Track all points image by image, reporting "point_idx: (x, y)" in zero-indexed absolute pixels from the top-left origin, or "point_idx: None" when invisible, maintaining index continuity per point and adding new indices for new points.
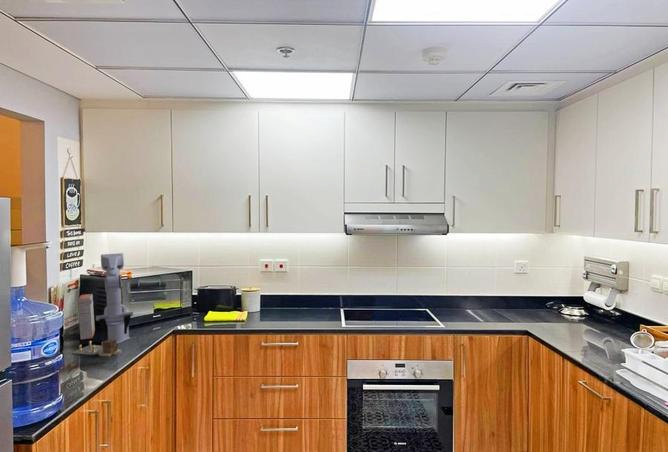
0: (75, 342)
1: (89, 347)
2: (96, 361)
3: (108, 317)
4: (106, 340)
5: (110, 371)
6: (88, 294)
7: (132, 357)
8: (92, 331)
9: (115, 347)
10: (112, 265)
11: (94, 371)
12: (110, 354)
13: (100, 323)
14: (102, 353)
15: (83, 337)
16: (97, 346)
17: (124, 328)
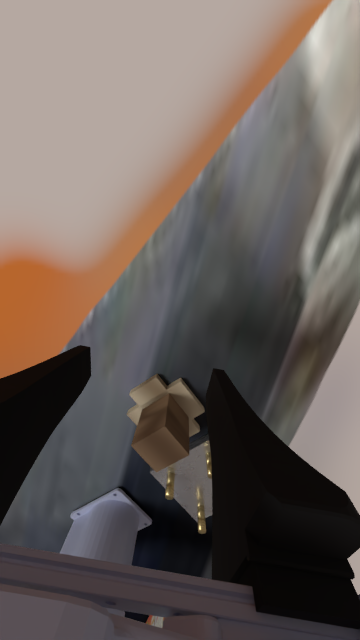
0: None
1: (206, 499)
2: (231, 352)
3: (206, 616)
4: (169, 464)
5: (235, 170)
6: None
7: (114, 298)
8: (161, 617)
9: (145, 416)
10: None
11: (280, 228)
12: (172, 385)
13: (327, 491)
14: (192, 412)
15: None
16: (183, 492)
17: (65, 396)
